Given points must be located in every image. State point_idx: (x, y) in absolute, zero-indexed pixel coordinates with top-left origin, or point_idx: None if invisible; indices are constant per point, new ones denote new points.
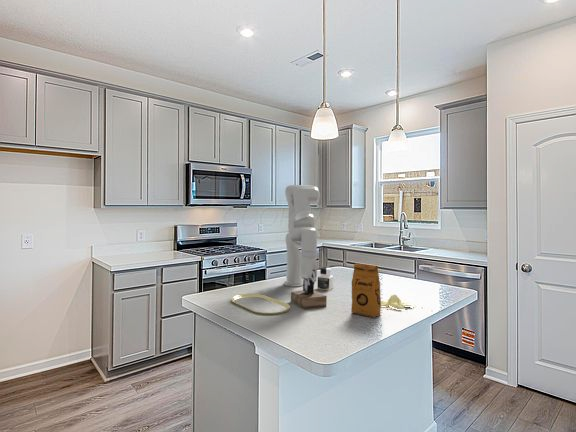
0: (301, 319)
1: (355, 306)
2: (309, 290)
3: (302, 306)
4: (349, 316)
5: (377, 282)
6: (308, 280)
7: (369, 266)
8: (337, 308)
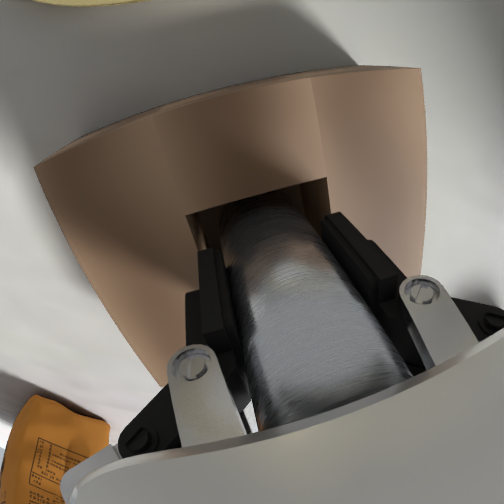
0: None
1: (16, 426)
2: (199, 294)
3: (97, 130)
4: (3, 369)
5: None
6: (213, 425)
7: None
8: (120, 365)
